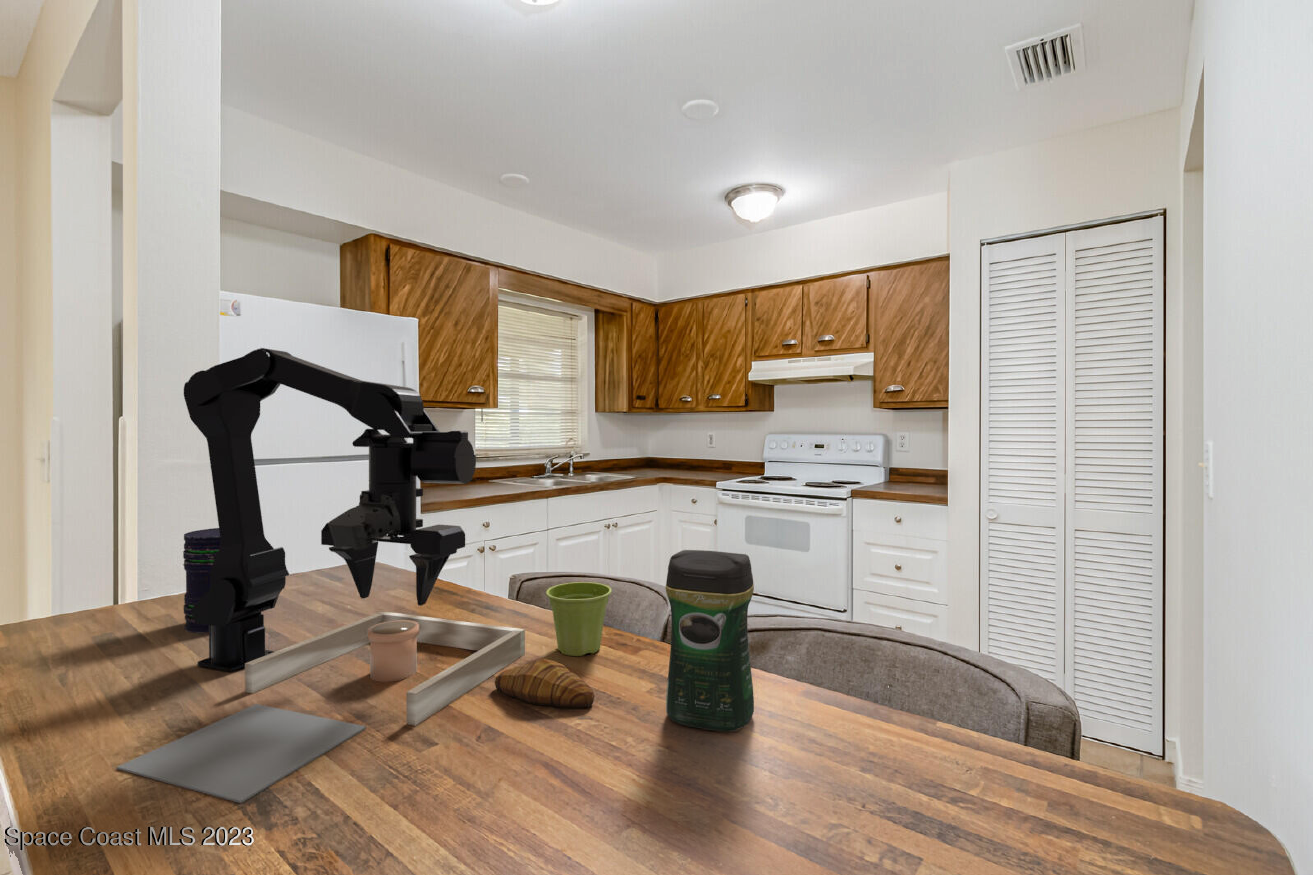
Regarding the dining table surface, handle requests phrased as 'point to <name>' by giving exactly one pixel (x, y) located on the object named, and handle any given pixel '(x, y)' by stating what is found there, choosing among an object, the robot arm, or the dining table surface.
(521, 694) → the croissant
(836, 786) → the dining table surface
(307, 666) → the metal u frame
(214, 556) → the storage jar
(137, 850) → the dining table surface
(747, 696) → the coffee jar
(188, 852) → the dining table surface
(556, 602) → the plant pot
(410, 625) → the pot
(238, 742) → the grey mat
